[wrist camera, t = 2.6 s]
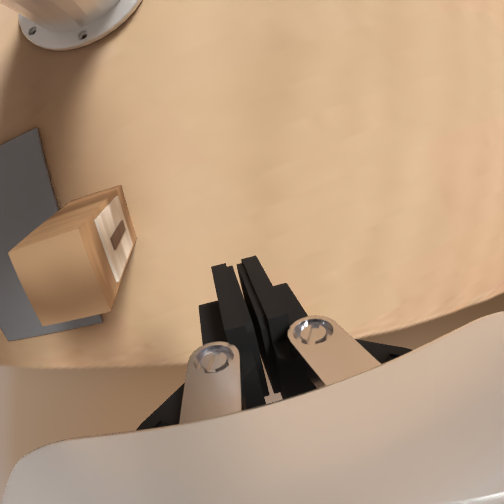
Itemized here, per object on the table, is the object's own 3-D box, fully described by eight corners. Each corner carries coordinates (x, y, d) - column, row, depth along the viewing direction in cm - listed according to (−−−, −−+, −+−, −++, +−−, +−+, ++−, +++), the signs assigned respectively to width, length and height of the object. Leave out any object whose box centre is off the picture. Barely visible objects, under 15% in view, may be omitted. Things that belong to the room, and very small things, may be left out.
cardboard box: (71, 200, 24) (7, 252, 13) (124, 183, 25) (83, 227, 14) (88, 251, 26) (42, 326, 15) (140, 237, 27) (116, 310, 16)
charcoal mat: (-56, 180, 19) (-58, 181, 19) (37, 127, 21) (36, 127, 20) (9, 339, 27) (8, 341, 27) (103, 320, 29) (102, 322, 29)
